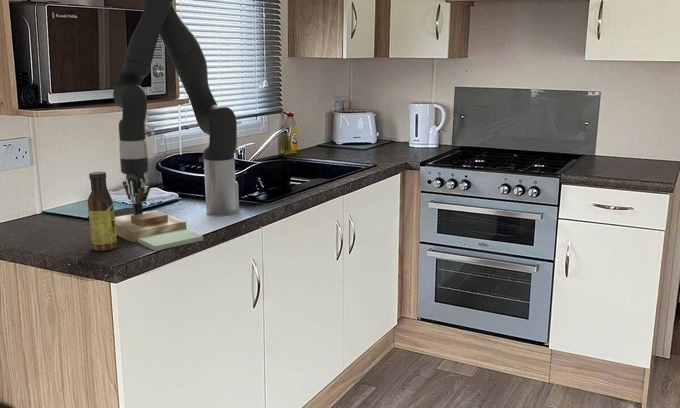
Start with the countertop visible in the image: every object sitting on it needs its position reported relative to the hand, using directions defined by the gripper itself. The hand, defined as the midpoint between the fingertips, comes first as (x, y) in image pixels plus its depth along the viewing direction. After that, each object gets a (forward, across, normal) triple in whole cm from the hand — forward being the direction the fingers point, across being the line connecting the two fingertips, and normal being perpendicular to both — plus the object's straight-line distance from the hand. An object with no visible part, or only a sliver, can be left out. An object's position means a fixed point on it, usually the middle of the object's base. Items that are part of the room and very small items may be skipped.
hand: (138, 215), depth 196 cm
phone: (+4, +18, -1) cm, 19 cm away
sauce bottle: (+4, -13, +16) cm, 21 cm away
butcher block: (+4, -4, 0) cm, 5 cm away
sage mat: (+4, -19, 0) cm, 19 cm away
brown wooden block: (+1, -7, 0) cm, 7 cm away
